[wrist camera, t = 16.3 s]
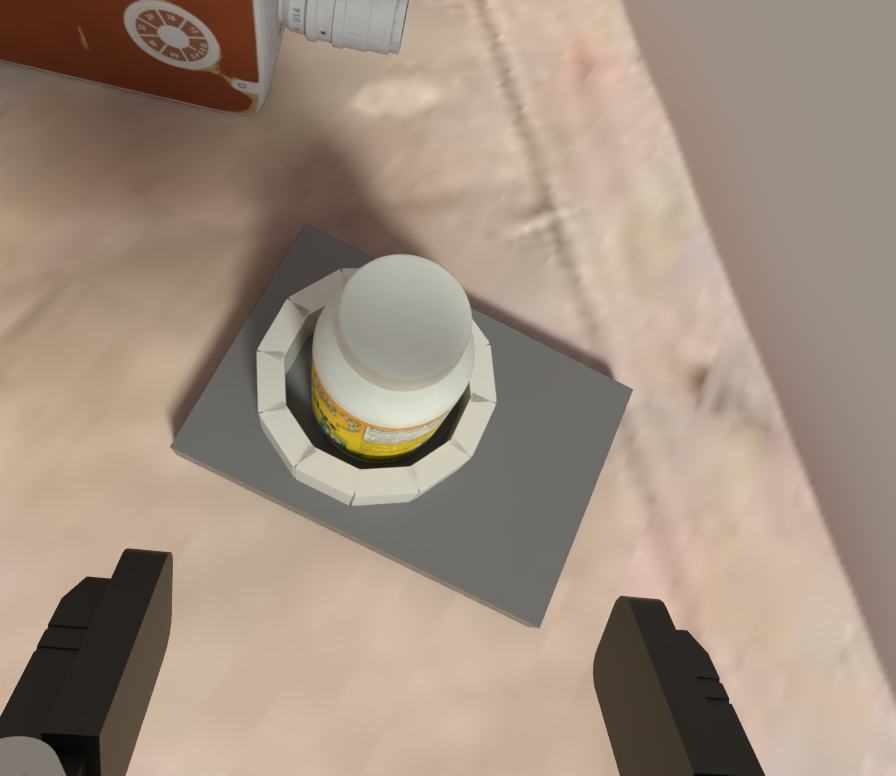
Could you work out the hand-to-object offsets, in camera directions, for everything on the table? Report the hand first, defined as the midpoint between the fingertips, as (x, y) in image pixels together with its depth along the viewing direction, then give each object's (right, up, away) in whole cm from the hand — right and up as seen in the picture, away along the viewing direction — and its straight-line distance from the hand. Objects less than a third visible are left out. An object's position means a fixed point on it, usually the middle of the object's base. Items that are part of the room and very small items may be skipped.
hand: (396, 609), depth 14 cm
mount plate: (-1, +2, +19) cm, 19 cm away
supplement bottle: (-2, +3, +18) cm, 18 cm away
